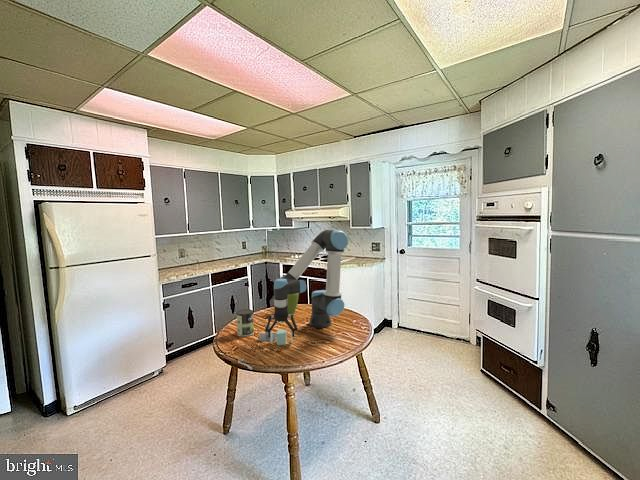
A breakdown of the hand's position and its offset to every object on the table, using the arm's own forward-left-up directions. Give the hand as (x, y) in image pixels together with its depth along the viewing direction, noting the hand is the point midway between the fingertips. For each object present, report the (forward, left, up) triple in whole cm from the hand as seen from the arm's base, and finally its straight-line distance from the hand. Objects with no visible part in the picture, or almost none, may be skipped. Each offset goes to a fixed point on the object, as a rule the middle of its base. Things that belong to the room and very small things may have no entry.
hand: (281, 342), depth 174 cm
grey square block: (+9, -8, 0) cm, 12 cm away
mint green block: (0, 0, 0) cm, 0 cm away
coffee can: (+24, -16, 0) cm, 29 cm away
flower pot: (-1, -54, 0) cm, 54 cm away
